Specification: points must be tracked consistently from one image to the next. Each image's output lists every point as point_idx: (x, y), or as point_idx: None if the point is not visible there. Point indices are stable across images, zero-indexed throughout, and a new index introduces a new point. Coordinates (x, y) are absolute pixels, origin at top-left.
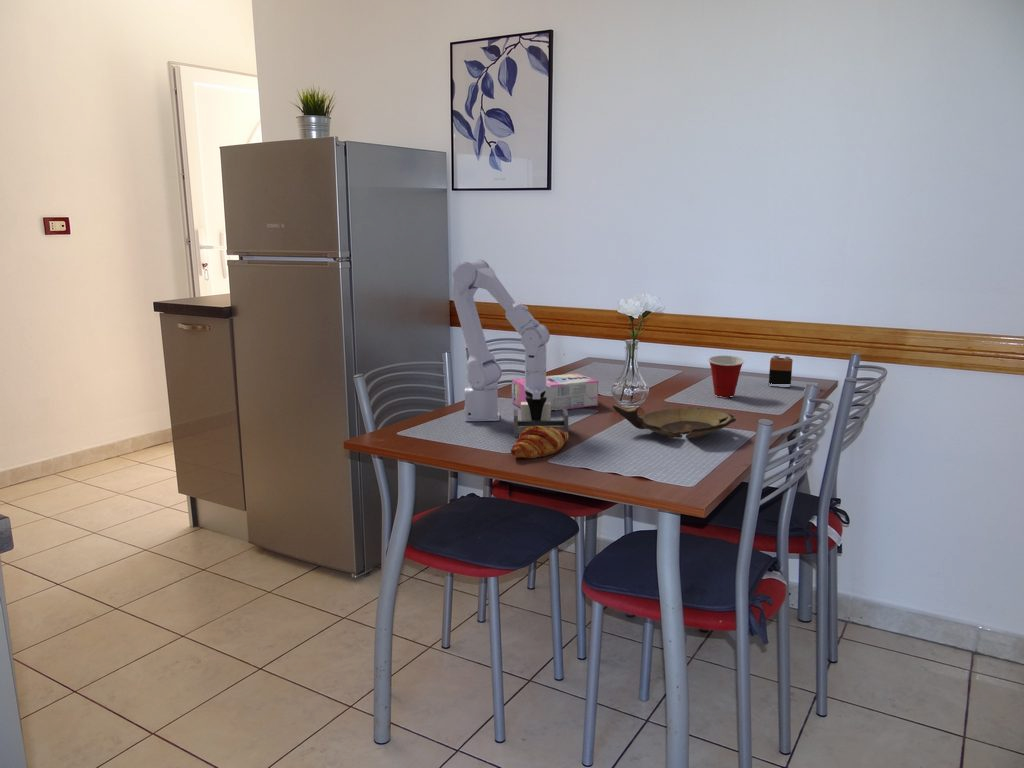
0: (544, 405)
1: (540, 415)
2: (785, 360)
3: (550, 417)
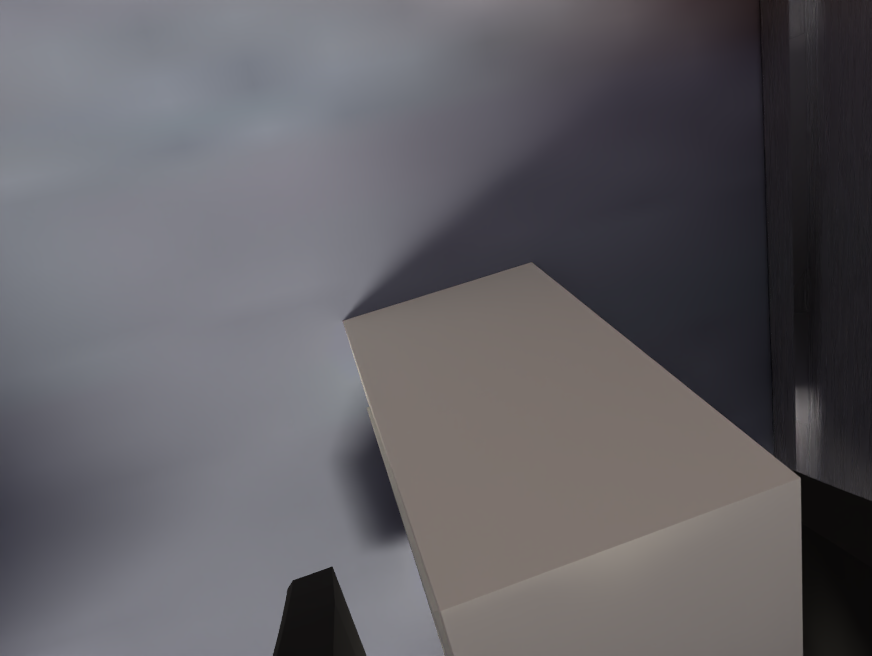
0: (778, 604)
1: (819, 488)
2: None
3: (597, 317)
